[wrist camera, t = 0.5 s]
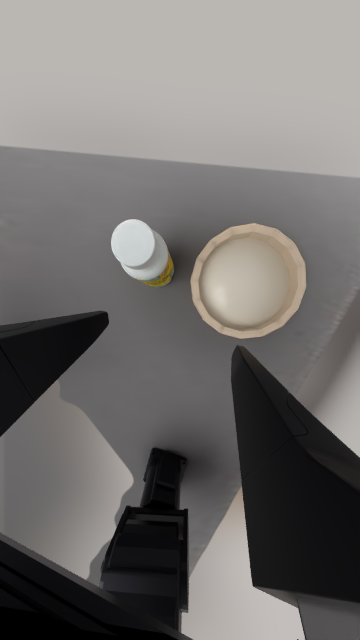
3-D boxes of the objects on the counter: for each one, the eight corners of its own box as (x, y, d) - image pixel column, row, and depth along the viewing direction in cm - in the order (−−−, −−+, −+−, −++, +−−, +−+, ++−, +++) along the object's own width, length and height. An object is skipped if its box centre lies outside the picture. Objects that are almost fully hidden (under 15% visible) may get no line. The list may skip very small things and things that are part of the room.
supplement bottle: (161, 245, 21) (139, 195, 12) (181, 274, 21) (175, 249, 12) (133, 266, 22) (91, 235, 12) (153, 294, 22) (126, 285, 12)
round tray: (272, 345, 22) (282, 350, 19) (180, 319, 22) (179, 321, 20) (307, 248, 20) (323, 240, 18) (206, 222, 21) (209, 211, 18)
